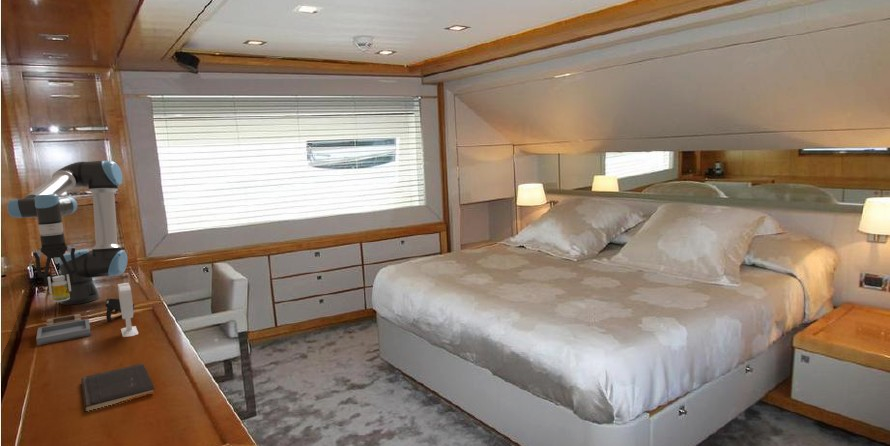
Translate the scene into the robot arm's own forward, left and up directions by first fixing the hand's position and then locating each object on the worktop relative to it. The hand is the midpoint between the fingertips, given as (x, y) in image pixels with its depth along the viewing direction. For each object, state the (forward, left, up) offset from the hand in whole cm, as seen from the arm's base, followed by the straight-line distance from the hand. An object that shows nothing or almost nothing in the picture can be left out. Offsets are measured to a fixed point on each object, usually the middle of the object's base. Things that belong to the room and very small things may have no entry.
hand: (60, 291), depth 210 cm
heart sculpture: (+27, +20, -14) cm, 36 cm away
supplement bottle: (0, 0, -4) cm, 4 cm away
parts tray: (+14, 0, -14) cm, 20 cm away
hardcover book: (+84, +12, -14) cm, 86 cm away
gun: (+2, +19, -14) cm, 24 cm away
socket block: (0, 0, -14) cm, 14 cm away
